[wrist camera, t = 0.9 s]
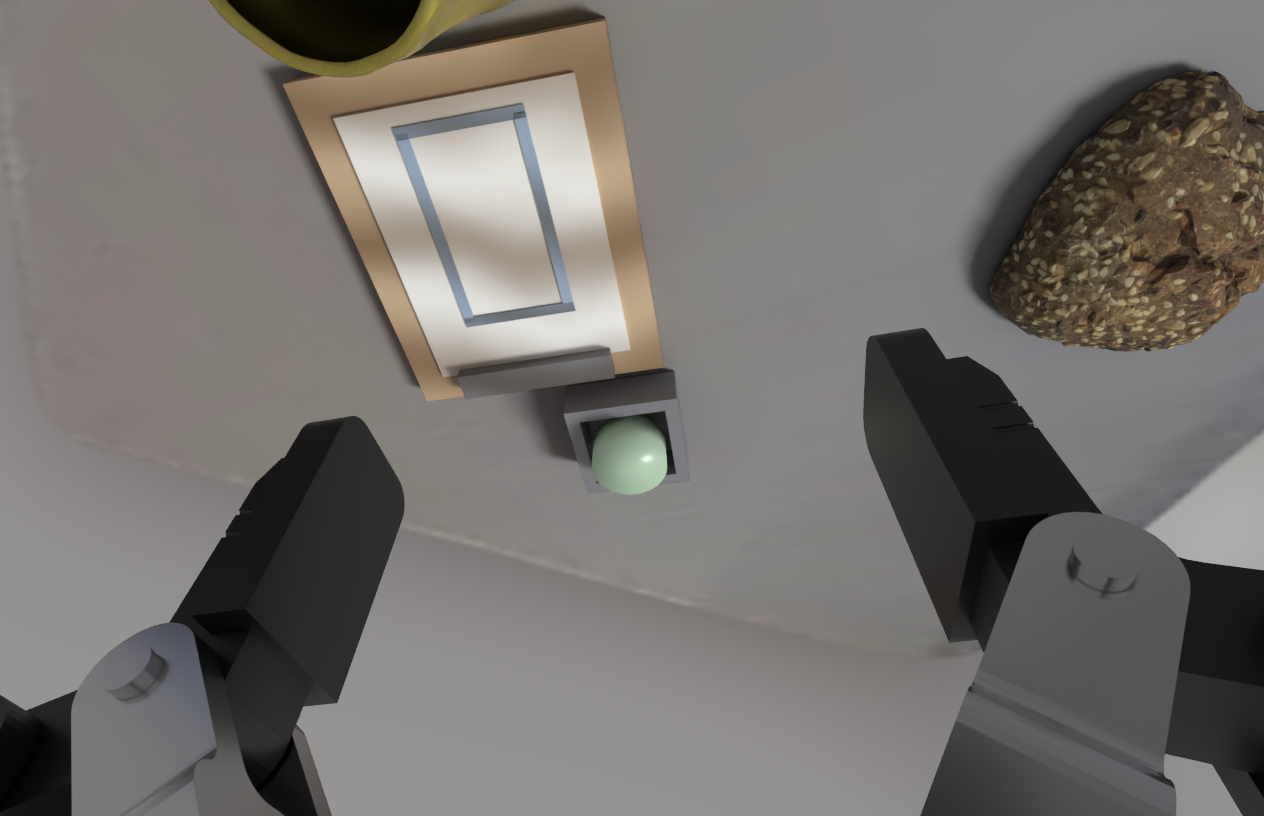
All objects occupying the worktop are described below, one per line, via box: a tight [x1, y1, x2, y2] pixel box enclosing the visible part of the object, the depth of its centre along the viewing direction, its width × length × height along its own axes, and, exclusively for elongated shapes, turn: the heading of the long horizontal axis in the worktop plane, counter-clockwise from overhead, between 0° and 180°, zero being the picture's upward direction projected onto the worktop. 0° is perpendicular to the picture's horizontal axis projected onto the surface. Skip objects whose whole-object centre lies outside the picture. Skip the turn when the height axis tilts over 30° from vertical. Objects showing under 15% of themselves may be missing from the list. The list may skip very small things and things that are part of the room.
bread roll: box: [990, 70, 1264, 352], centre depth 29 cm, size 13×12×5 cm
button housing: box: [563, 371, 690, 494], centre depth 37 cm, size 6×6×2 cm
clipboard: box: [282, 17, 663, 401], centre depth 30 cm, size 16×13×2 cm
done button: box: [592, 415, 667, 494], centre depth 35 cm, size 4×4×2 cm
